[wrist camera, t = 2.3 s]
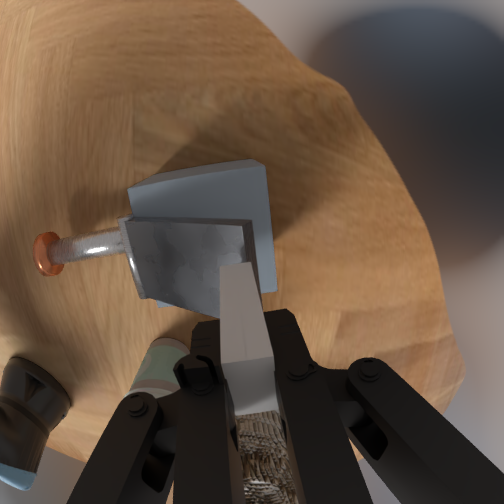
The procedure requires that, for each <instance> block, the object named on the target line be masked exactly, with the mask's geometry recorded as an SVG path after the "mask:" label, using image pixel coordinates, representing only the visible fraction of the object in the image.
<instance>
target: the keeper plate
mask: <svg viewBox="0 0 504 504" xmlns="http://www.w3.org/2000/svg"><path fill="white" fill-rule="evenodd" d="M117 223H118V227H119V231H120V235H121V238H122V242H123V246H124V249H125V253H126V257H127V260H128V263H129V267H130V270H131V273H132V277H133V280H134V283H135V286H136V289H137V292H138V295H139V298H140V299H147V298H151V299H155V300H158V301H161V302H164V303H167V304H171V305H174V306H177V307H181V308H184V309H187V310H191V311H194V312H198V313H201V314H205V315H208V316H212V317H216V318H219V319H220V266H225V265H232V264H239V263H245V262H251V265H252V269H253V273H254V277H255V282H256V286H257V290H258V294H259V298H260V302H261V306H262V298H261V290H260V281H259V273H258V264H257V256H256V248H255V240H254V231H253V223H252V220H248V219H222V218H189V217H133V215H132V214H127V215H123V216H120V217H118V218H117ZM262 310H263V306H262Z"/></svg>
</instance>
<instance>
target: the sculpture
mask: <svg viewBox="0 0 504 504" xmlns="http://www.w3.org/2000/svg"><path fill="white" fill-rule="evenodd" d="M235 422H236V425H237V428H238V436H239V446H240V455H241V465H242V474H243V483H244V491H245V500H246V504H299V503H298V498H297V494H296V490H295V485H294V481H293V476H292V472H291V467H290V463H289V458H288V453H287V449H286V444H285V440H284V435H283V433H282V431H281V420H280V412H279V409H278V410H272V411H266V412H260V413H253V414H246V415H238V416H236V415H235Z"/></svg>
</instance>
